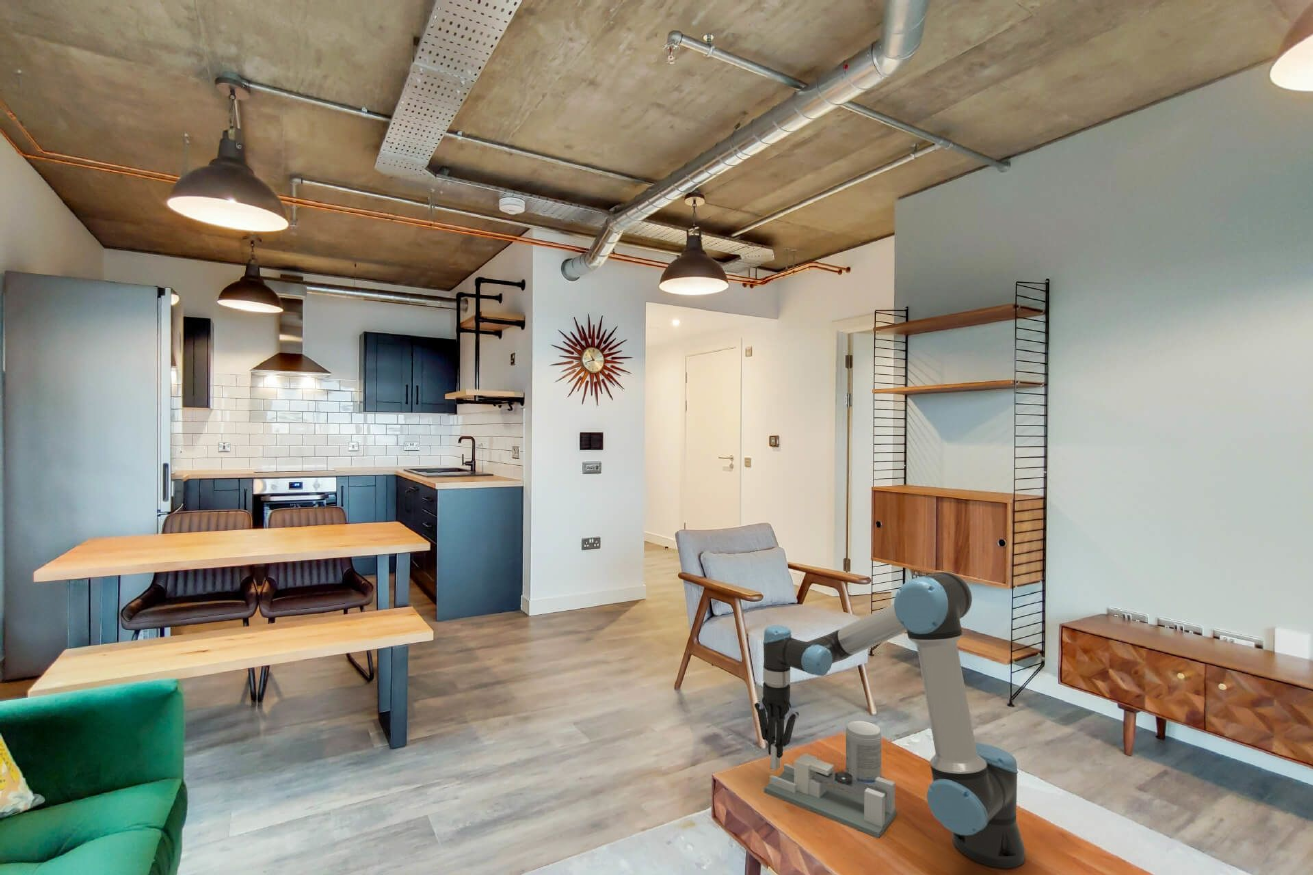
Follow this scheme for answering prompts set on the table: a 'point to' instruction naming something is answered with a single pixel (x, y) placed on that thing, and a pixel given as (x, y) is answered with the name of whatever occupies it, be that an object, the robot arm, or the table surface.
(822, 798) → the mount
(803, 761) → the block
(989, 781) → the robot arm
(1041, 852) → the table surface
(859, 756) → the supplement tub
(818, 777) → the grey long flat bar
